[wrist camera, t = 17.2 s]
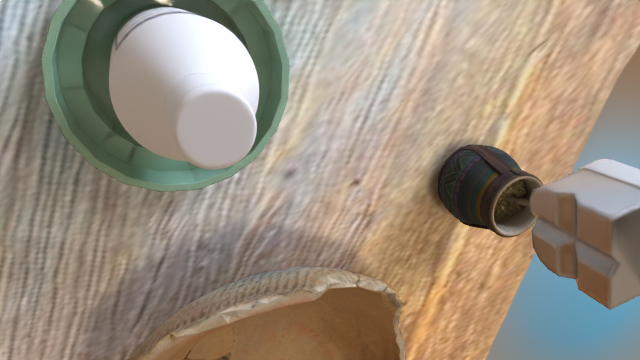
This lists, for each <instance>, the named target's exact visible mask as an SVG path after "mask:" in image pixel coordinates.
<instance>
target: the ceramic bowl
mask: <svg viewBox="0 0 640 360" xmlns="http://www.w3.org/2000/svg"><path fill="white" fill-rule="evenodd" d="M402 305H403V303H402V302H401V300H400V299H399V296H398V293H397V292H396V291H395V290H394V289H393V288H392V287H390V286H389V285H388V284H387V283H385V282H384V281H383V280H379V279H375V278H372V277H368V276H365V275H363V274H360V273H354V272H349V271H345V270H340V269H335V268H326V267H321V266H294V267H291V268H287V269H280V270H274V271H269V272H264V273H260V274H256V275H253V276H250V277H246V278H243V279H241V280H238V281H236V282H234V283H230V284H227V285H224V286H221V287H219V288H217V289H216V290H214V291H212V292H210V293H207V294H205V295H203V296H201V297H200V298H198V299H196V300H194V301H193V302H191V303H189V304H188V305H186V306H185V307H182V308H180V309H179V310H178V311H177V312H176V313H175V314H174V315H172V316H171V317H169V318H168V319H166V320H165V321H164V322H163V323H162V324H161V325H159V326H158V327H157V328H156V329H155V330H154V331H153V332H152V333H151V334H150V335H149V336H148V338H147V339H146V340H145V341H144V342H143V343H142V344H141V345H140V346H139V347H138V348H137V349H136V351H135V352H134V353H133V354H132V356H131V357H130V358H129V359H128V360H405V358H406V356H405V341H404V337H403V335H402V333H401V331H400V329H399V326H398V324H399V318H400V313H401V308H402Z"/></svg>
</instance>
